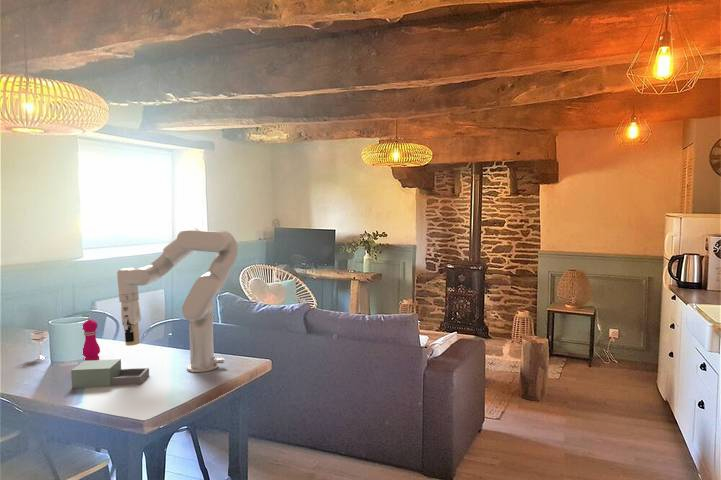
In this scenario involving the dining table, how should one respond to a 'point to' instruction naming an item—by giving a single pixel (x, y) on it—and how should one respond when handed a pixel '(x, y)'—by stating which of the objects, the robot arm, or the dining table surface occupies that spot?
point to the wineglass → (39, 340)
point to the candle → (136, 335)
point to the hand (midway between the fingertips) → (132, 339)
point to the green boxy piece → (106, 374)
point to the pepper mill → (90, 340)
